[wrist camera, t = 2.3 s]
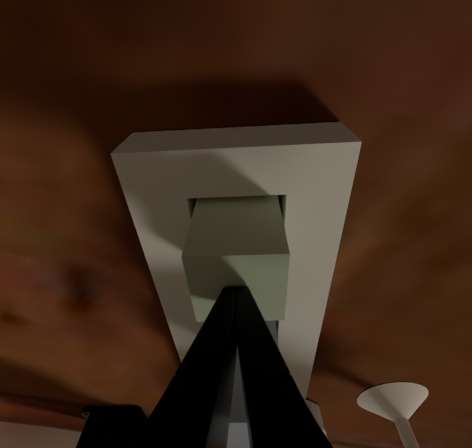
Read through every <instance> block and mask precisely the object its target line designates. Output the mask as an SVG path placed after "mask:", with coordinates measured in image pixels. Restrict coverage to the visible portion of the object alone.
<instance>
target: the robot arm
mask: <svg viewBox="0 0 472 448" xmlns="http://www.w3.org/2000/svg"><path fill="white" fill-rule="evenodd" d="M237 345H238V355H239V364H240V372H241V380H242V388H243V396H244V404H245V412H246V420H247V428H248V437H249V445H250V448H333V447H332V445H331V443H330V442H329V440H328V439H327V437H326V436H325V434H324V432H323V431H322V429H321V428H320V426H319V424H318V423H317V421H316V419H315V418H314V416H313V414H312V413H311V411H310V409H309V408H308V406H307V404H306V402H305V400H304V398H303V396H302V395H301V393H300V391H299V389H298V387H297V385H296V383H295V381H294V379H293V377H292V375H290V371H289V369H288V367H287V365H286V363H285V361H284V359H283V357H282V354H281V352H280V350H279V348H278V346H277V344H276V342H275V340H274V338H273V336H272V334H271V332H270V330H269V328H268V326H267V324H266V322H265V320H264V318H263V316H262V314H261V311H260V309H259V307H258V305H257V303H256V301H255V299H254V297H253V295H252V293H251V291H250V289H249V287H248V286H237V287H235V286H225V287H223V289H222V291H221V292H220V294H219V296H218V298H217V300H216V301H215V303H214V305H213V307H212V309H211V310H210V312H209V314H208V316H207V317H206V319H205V321H204V323H203V325H202V326H201V328H200V330H199V332H198V334H197V335H196V337H195V339H194V341H193V343H192V344H191V346H190V348H189V350H188V351H187V353H186V355H185V357H184V359H183V360H182V362H181V364H180V366H179V368H178V369H177V371H176V373H175V375H176V376H173V378H172V380H171V382H170V383H169V385H168V387H167V389H166V390H165V392H164V394H163V395H162V397H161V399H160V400H159V402H158V404H157V405H156V407H155V409H154V410H153V412H152V413H151V415H150V416H149V418H148V419H147V417H146V416H145V414H144V413H143V411H142V410H141V409H139V408H84V409H83V411H82V413H81V414H82V415H83V416H84V417H85V418H86V419H87V421H86V423H85V426H84V428H83V431H82V433H81V436H80V439H79V441H78V444H77V446H76V448H227V439H228V430H229V421H230V412H231V403H232V395H233V386H234V377H235V368H236V359H237Z"/></svg>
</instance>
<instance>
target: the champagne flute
mask: <svg viewBox="0 0 472 448" xmlns="http://www.w3.org/2000/svg"><path fill="white" fill-rule="evenodd" d="M427 396H428V390H427V388H425V387H424V386H422V385H419V384H415V383H409V382H396V383H388V384H382V385H378V386H375V387H372V388H370V389H368V390H366V391H364V392H363V393H361V394H360V395H359V396H358V398H357V404H358V405H359V406H360V407H362V408H364V409H366V410H368V411H371V412H373V413H375V414H377V415H380V416H382V417H384V418H387V419H389V420H391V421H394V422H395V425H396V427H397V430H398V432H399V435H400V437H401V440H402V443H403V445H404V448H419V445H418V443H417V441H416V438H415V436H414V434H413V431H412V429H411V427H410V424H409V422H408V419H409V418H410V416H411V415H412V414H413V413H414V412H415V411H416V409H417V408H418V407H419V406H420V405H421V403H422V402H423V401H424V400H425V399H426V398H427Z"/></svg>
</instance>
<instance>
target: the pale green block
mask: <svg viewBox="0 0 472 448" xmlns="http://www.w3.org/2000/svg"><path fill="white" fill-rule="evenodd" d="M181 258H182V263H183V267H184V271H185V275H186V280H187V284H188V288H189V292H190V297H191V301H192V305H193V309H194V314H195V318H196V322H204V321H205V319H206V317H207V316H208V314H209V312H210V310H211V309H212V307H213V305H214V303H215V301H216V300H217V298H218V296H219V294H220V292H221V291H222V289H223V287H225V286H235V287H237V286H248V287H249V289H250V291H251V293H252V295H253V297H254V299H255V301H256V303H257V305H258V307H259V309H260V311H261V314H262V316H263V318H264V320H265V321H273V320H285V309H286V297H287V285H288V272H289V260H290V252H289V247H288V242H287V238H286V233H285V228H284V223H283V219H282V214H281V209H280V205H279V200H278V195H262V196H237V197H212V198H197V200H196V204H195V208H194V211H193V215H192V219H191V222H190V226H189V230H188V234H187V237H186V241H185V245H184V248H183V252H182V256H181Z"/></svg>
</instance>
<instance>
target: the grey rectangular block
mask: <svg viewBox="0 0 472 448" xmlns="http://www.w3.org/2000/svg"><path fill="white" fill-rule="evenodd" d="M265 322H266V324H267V326H268V328H269V330H270V332H271V334H272V336H273V338H274V340H275V342H276V344H277V346H278V339H277V330H276V322H275V320H273V321H265ZM227 448H250V445H249V437H248V428H247V420H246V412H245V404H244V396H243V388H242V380H241V372H240V364H239V355H238V345H237V359H236V368H235V377H234V386H233V395H232V403H231V412H230V421H229V430H228V439H227Z"/></svg>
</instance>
